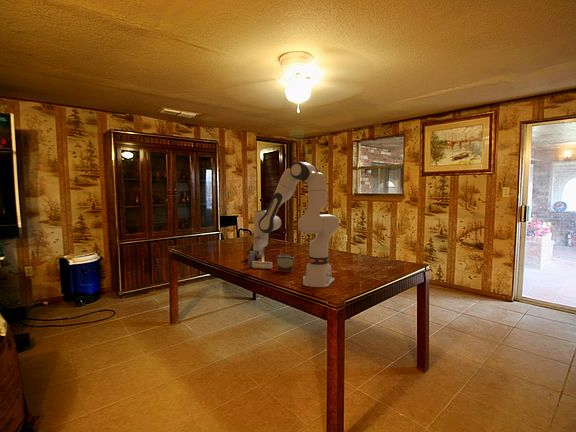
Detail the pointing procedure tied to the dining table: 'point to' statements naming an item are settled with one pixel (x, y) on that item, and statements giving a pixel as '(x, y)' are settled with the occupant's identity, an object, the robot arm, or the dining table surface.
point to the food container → (285, 262)
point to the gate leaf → (261, 264)
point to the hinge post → (249, 261)
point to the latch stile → (252, 255)
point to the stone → (255, 252)
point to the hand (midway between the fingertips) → (260, 254)
